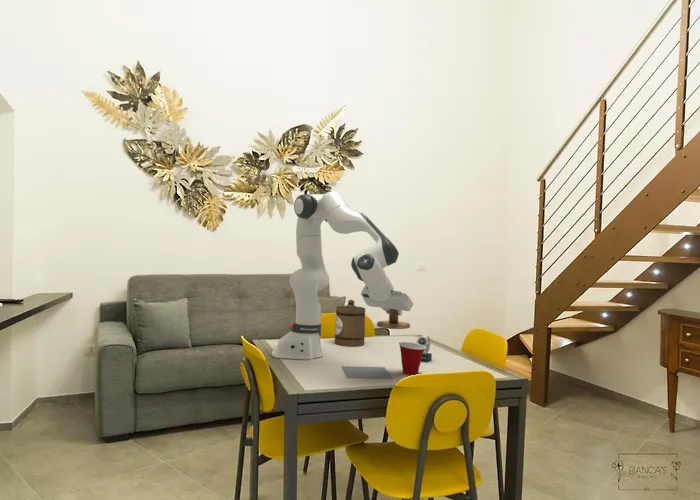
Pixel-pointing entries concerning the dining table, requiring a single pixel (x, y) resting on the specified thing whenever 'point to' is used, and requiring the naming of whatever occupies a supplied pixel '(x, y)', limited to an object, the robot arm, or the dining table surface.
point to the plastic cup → (411, 357)
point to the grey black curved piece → (426, 342)
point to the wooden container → (350, 325)
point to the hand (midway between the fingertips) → (394, 313)
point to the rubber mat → (366, 372)
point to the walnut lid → (393, 322)
